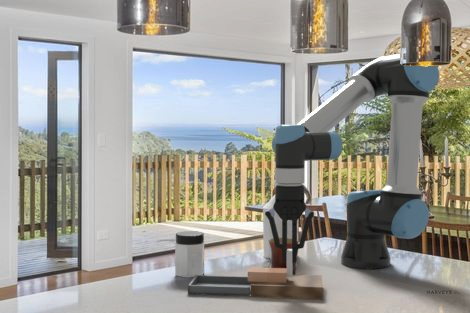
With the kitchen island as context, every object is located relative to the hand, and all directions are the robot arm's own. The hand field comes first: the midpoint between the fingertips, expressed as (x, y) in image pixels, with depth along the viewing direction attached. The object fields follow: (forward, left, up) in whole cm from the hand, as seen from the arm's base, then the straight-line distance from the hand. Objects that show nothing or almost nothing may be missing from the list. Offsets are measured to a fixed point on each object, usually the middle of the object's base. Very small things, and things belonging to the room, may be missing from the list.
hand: (289, 274), depth 156 cm
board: (0, 0, -5) cm, 5 cm away
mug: (+2, -18, -5) cm, 19 cm away
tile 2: (+3, 0, -2) cm, 4 cm away
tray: (+18, 0, -5) cm, 18 cm away
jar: (+30, -15, -5) cm, 33 cm away
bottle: (+4, -43, -5) cm, 44 cm away
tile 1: (+8, 0, -2) cm, 8 cm away
